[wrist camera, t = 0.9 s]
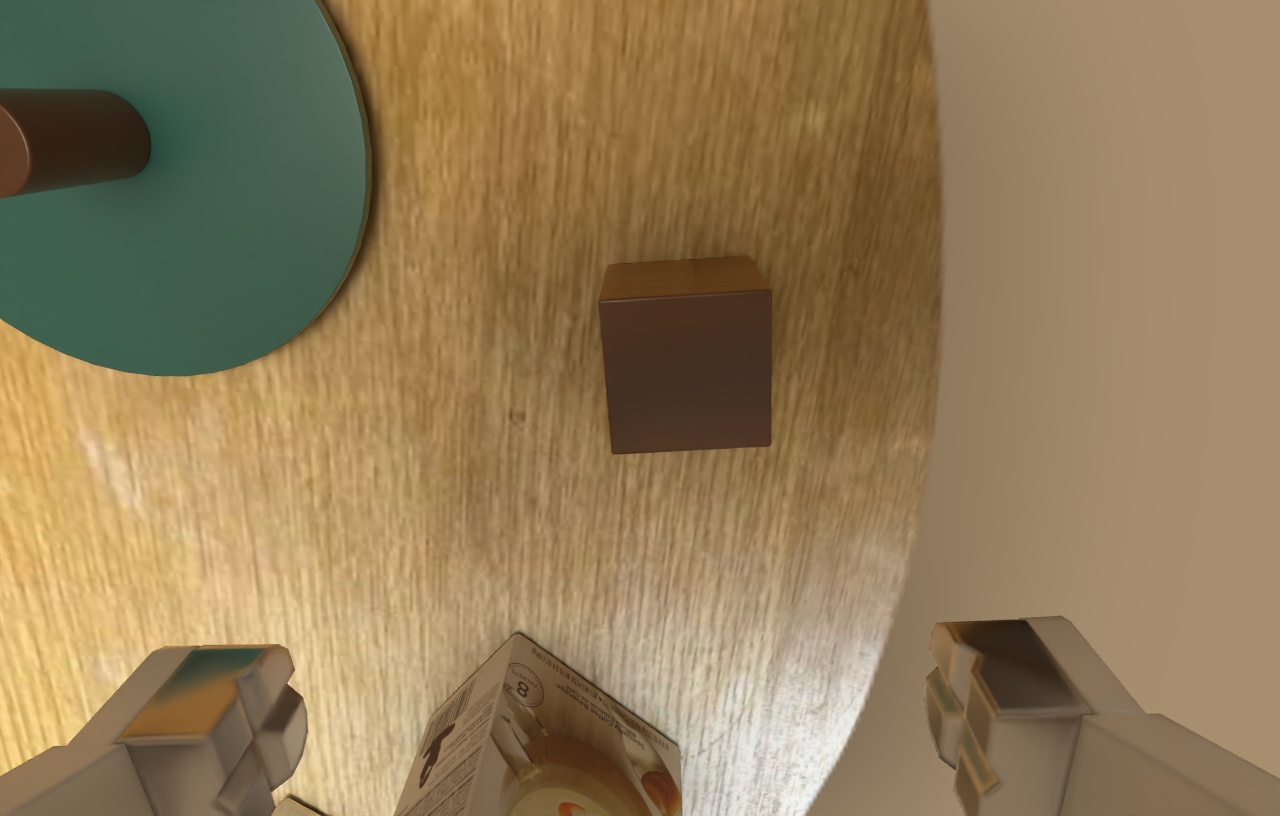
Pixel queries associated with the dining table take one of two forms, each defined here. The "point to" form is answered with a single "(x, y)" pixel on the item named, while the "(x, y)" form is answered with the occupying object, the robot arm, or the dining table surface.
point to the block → (687, 355)
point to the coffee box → (539, 748)
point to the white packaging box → (292, 809)
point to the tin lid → (176, 177)
